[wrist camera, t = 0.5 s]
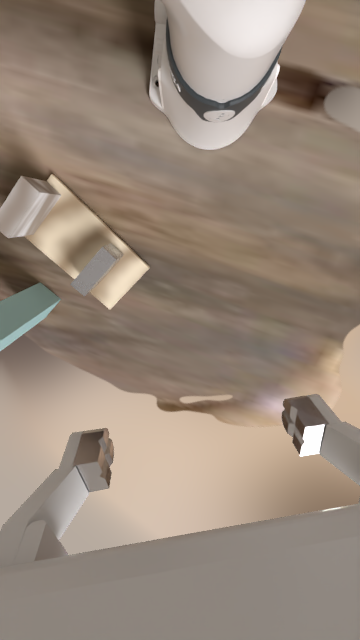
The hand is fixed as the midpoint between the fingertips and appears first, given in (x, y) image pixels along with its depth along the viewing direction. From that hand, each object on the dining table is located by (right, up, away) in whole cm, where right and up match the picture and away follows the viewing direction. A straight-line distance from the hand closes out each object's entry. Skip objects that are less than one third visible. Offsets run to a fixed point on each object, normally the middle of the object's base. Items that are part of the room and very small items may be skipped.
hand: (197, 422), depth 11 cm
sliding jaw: (-15, +15, +36) cm, 41 cm away
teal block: (-29, +9, +40) cm, 50 cm away
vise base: (-19, +18, +36) cm, 44 cm away
